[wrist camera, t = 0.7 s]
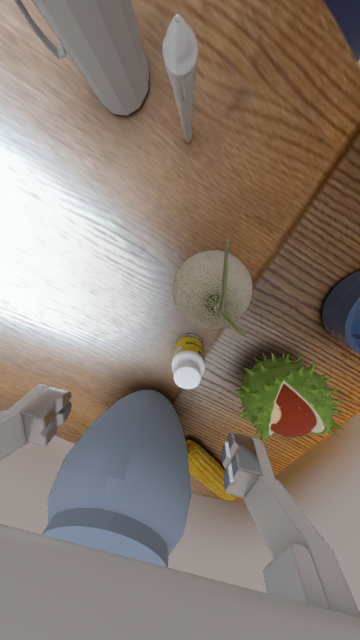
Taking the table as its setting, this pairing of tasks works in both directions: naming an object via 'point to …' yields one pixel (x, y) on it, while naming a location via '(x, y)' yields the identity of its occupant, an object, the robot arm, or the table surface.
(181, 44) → the pen
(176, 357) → the supplement bottle
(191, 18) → the table surface
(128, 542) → the vase
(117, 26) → the water bottle
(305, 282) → the table surface
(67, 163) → the table surface
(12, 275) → the table surface
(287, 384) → the chestnut
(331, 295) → the bowl
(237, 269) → the fruit
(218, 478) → the food
